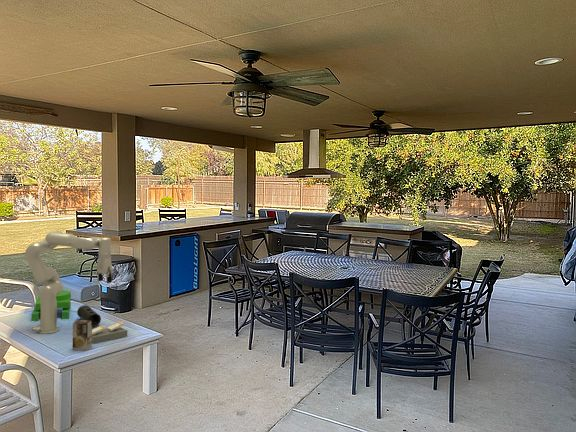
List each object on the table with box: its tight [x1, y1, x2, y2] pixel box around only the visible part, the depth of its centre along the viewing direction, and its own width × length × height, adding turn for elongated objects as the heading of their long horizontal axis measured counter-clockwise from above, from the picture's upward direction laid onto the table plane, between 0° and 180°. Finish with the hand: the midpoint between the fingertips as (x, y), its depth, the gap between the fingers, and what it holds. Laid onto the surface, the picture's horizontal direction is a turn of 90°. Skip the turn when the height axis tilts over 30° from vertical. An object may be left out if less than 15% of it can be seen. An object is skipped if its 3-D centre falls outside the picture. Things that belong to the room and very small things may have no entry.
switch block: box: [92, 326, 128, 345], centre depth 278 cm, size 22×12×5 cm, turn 138°
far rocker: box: [106, 321, 125, 331], centre depth 283 cm, size 9×5×1 cm, turn 138°
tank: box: [31, 290, 72, 322], centre depth 322 cm, size 24×35×16 cm
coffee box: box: [72, 319, 93, 351], centre depth 258 cm, size 9×6×16 cm
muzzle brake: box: [76, 304, 102, 329], centre depth 308 cm, size 10×28×10 cm, turn 39°
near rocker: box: [92, 324, 107, 335], centre depth 274 cm, size 9×5×1 cm, turn 138°
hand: (104, 281), depth 288 cm, fingers open, 9 cm apart
